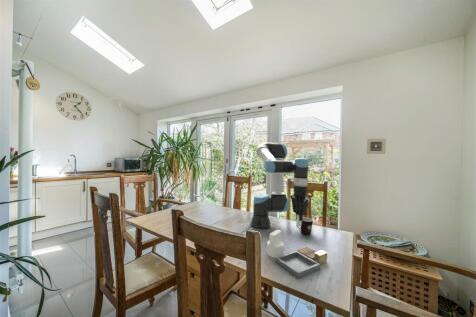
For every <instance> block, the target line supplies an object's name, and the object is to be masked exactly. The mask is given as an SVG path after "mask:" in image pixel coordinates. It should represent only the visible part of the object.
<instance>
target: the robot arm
mask: <svg viewBox="0 0 476 317" xmlns="http://www.w3.org/2000/svg"><path fill="white" fill-rule="evenodd" d="M255 152H256V156H257V157H259V159H261V160H262V161H263V163H264V166H263V168H264V171H265V172H266V173H270V174H271V175H272V176H271V177H272V192H271V194H270V195H269V194H267V193H262V194H260V193H259V194H257V195H255V196H254V197H253V205H252V206H253V207H252V208H253V209H252V218H251V220H250V226H251V227H252V228H254V229H257V230H265V229H266V230H267V229H270V228H271V220H270V216H269V215H270V214H269V213H286V212H287V211H288V210H289V208H290V199H291V205H292V206H291V207H292V212H293V213H295V220H296V227H297V226H298V227H301V225H302V220H303V217H304V216H305V215H307V211H308V208H309V204H310V202H311V198H308V195H307V193H308V184H309V183H308V179H309V178H308V176H309V175H308V174H309V159H308V158H305V157H304V158H302V157H297V158H295V159H294V160H286V158H287V156H288V149H287V146H286V144H285V143H283V142H263V143H261V144H259V145H258V146H257V148H256V151H255ZM284 174H293V194H291V195H290V199H289V196H287V193H285V188H284V187H285V184H284Z"/></svg>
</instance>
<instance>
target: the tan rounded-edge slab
mask: <svg viewBox="0 0 476 317" xmlns="http://www.w3.org/2000/svg"><path fill="white" fill-rule="evenodd" d="M296 251H298V252H299V253H301V254H303V255H305V256H306V257H308V258H310V259H312V260H314V258H315V253H316V252H317V251H316V250H314V249H312V248H310V247H308V246H305V247H302V248H299V249H297V250H296Z"/></svg>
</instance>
